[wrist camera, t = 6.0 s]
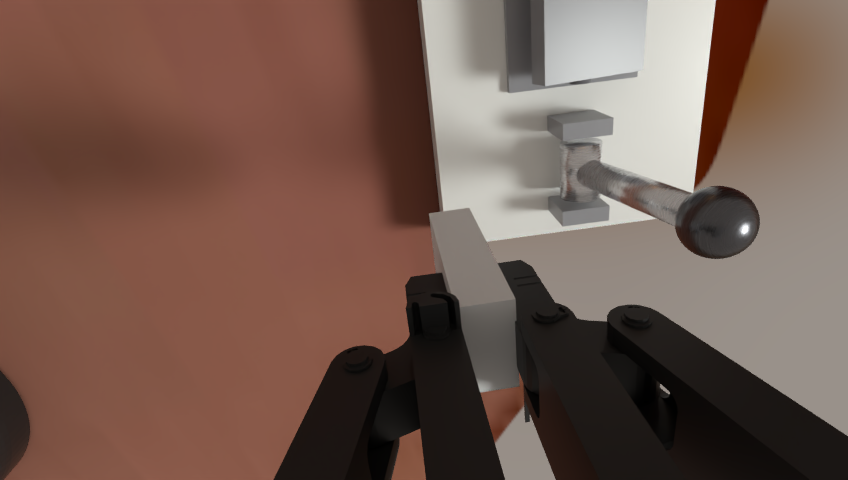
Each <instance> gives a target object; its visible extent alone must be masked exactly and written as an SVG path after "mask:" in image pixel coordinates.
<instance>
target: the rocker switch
mask: <svg viewBox="0 0 848 480" xmlns="http://www.w3.org/2000/svg"><path fill="white" fill-rule="evenodd" d="M647 6H648V0H530V7H531V52H532V84H535V85H541V86H550V85H556V84H562V83H568V82H569V84H571V85H579V84H588V83H591V79H593V78H599V77H605V76H611V75H617V74H623V73H629V72H635V71H642V70H643V66H644V51H645V36H646V21H647Z"/></svg>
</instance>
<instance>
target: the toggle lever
mask: <svg viewBox="0 0 848 480" xmlns="http://www.w3.org/2000/svg"><path fill="white" fill-rule="evenodd" d="M600 194H602V195H604V196H606V197H609V198H611V199H613V200H615V201H618V202H620V203H622V204H625V205H627V206H629V207H631V208H634V209H636V210H638V211H641V212H643V213H645V214H647V215H650V216H652V217H654V218H656V219H659V220H661V221H663V222H666V223H668V224H671V225H673V226H675V229H676V233H677V236H678V238H679V239H680V241H681V243H682V244H683V245H684V246H685V247H686V248H687V249H688V250H690V251H691V252H693V253H694V254H696V255H699V256H701V257H705V258H711V259H723V258H728V257H732V256H734V255H737V254H739V253H740V252H742V251H744V250H745V249H746V248H748V247H749V246H750V245H751V244H752V242H753V241H754V239H755V238H756V236H757V234H758V231H759V226H760V217H759V213H758V210H757V208H756V206H755V204H754V203H753V202H752V200H751V199H750V198H749V197H748V196H747V195H745V194H744V193H742V192H740V191H738V190H736V189H733V188H730V187H724V186H711V187H706V188H703V189H700V190H698V191H695V192H694V193H691V192H688V191H685V190H682V189H679V188H676V187H673V186H671V185H668V184H665V183H662V182H659V181H656V180H653V179H650V178H647V177H644V176H642V175H639V174H636V173H633V172H630V171H627V170H624V169H621V168H618V167H615V166H613V165H610V164H607V163H604V162H602V140H601V139H598V138H592V137H591V138H584V139H576V140H569V141H561V142H560V198H561V199H563V200H565V201H568V202H577V203H582V202H590V201H594V200H597V199H598V198H600Z"/></svg>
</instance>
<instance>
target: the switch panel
mask: <svg viewBox="0 0 848 480" xmlns="http://www.w3.org/2000/svg"><path fill="white" fill-rule="evenodd" d="M715 2H716V0H648V6H647V21H646V36H645V51H644V66H643V70H642V71H635V72H629V73H623V74H617V75H611V76H605V77H599V78H593V79H591V83H588V84H579V85H571V84H569V82H568V83H562V84H556V85H550V86H541V85H535V84H532V52H531V7H530V0H417V3H418V12H419V22H420V31H421V40H422V50H423V59H424V68H425V77H426V87H427V96H428V105H429V114H430V124H431V133H432V142H433V152H434V161H435V170H436V179H437V189H438V198H439V207H440V212H442V211H449V210H456V209H464V208H470V210H471V212H472V214H473V216H474V218H475V220H476V222H477V224H478V226H479V228H480V230H481V232H482V234H483V236H484V238H485V240H486V242H488V241H495V240H502V239H510V238H517V237H525V236H532V235H539V234H547V233H554V232H562V231H569V230H577V229H584V228H591V227H599V226H606V225H614V224H621V223H629V222H636V221H643V220H651V219H656V218H654V217H652V216H650V215H647V214H645V213H643V212H641V211H638V210H636V209H634V208H631V207H629V206H627V205H625V204H622V203H620V202H618V201H615V200H613V199H611V198H609V197H606V196H604V195H602V194H600V198H598V199H597V200H594V201H590V202H582V203H577V202H568V201H565V200H563V199H561V198H560V142H561V141H569V140H576V139H584V138H591V137H592V138H598V139H601V140H602V162H604V163H607V164H610V165H613V166H615V167H618V168H621V169H624V170H627V171H630V172H633V173H636V174H639V175H642V176H644V177H647V178H650V179H653V180H656V181H659V182H662V183H665V184H668V185H671V186H673V187H676V188H679V189H682V190H685V191H688V192H691V193H693V189H694V181H695V172H696V164H697V155H698V147H699V138H700V130H701V121H702V113H703V104H704V96H705V87H706V79H707V70H708V62H709V53H710V45H711V36H712V28H713V19H714V11H715Z"/></svg>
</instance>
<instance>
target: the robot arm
mask: <svg viewBox="0 0 848 480" xmlns="http://www.w3.org/2000/svg"><path fill="white" fill-rule="evenodd" d="M429 218H430V227H431V235H432V244H433V252H434V261H435V269H436V273H435V274H428V275H421V276H414V277H411V278H410V279H409V281H408V282H407V284H406V286H405V287H406V296H407V306H406V312H407V319H408V326H409V332H410V336H409V338H408V340H407V341H406V342H405V343H404V344H403V345H402V346H400V347H399V348H398V349H395V350H393V351H391V352H389V353H386V354H383V353H382V351H381V350H380V349H378V348H376V347H373V346H365V345H364V346H356V347H352V348H349V349H347V350H344V351H343V352H341V353H340V354H338V355H337V356H336V357H335V358H334V359H333V361H332V362H331V364H330V366H329V368H328V370H327V372H326V374H325V376H324V378H323V380H322V382H321V384H320V386H319V388H318V390H317V392H316V394H315V396H314V398H313V400H312V403H311V405H310V407H309V409H308V411H307V413H306V415H305V417H304V419H303V421H302V423H301V425H300V427H299V429H298V431H297V433H296V435H295V437H294V439H293V441H292V443H291V445H290V447H289V449H288V451H287V453H286V456H285V458H284V460H283V462H282V464H281V466H280V468H279V470H278V472H277V474H276V476H275V478H274V480H391V478H392V474H393V470H394V466H395V461H396V457H397V453H398V449H399V437H402V436H404V435H406V434H409V433H411V432H413V431H415V430H418V429H421V438H422V447H423V456H424V465H425V473H426V480H505V478H504V474H503V471H502V468H501V464H500V460H499V457H498V453H497V450H496V446H495V443H494V439H493V436H492V432H491V429H490V425H489V422H488V418H487V415H486V411H485V408H484V404H483V401H482V397H481V394H480V392H485V391H492V390H499V389H505V388H512V387H518V386H519V373H520V375H521V378H522V380H523V383H524V408H525V422H529V421H530V419H529V418H530V417H529V415H531V417H532V420H533V423H534V425H535V427H536V430H537V433H538V435H539V438H540V440H541V443H542V446H543V448H544V450H545V453H546V456H547V458H548V461H549V463H550V466H551V469H552V471H553V474H554V476H555V479H556V480H848V436H847V435H845V434H844V433H842V432H840V431H839V430H837V429H836V428H834V427H833V426H831V425H830V424H828V423H827V422H825V421H824V420H822V419H821V418H819V417H818V416H816V415H815V414H813V413H812V412H810V411H808V410H807V409H806V408H804V407H802V406H801V405H799V404H798V403H796V402H795V401H793V400H792V399H790V398H789V397H787V396H786V395H784V394H782V393H781V392H780V391H778V390H777V389H775V388H773V387H772V386H770V385H769V384H767V383H766V382H764V381H763V380H761V379H760V378H758V377H757V376H755V375H754V374H752V373H751V372H749V371H748V370H746V369H744V368H743V367H741V366H740V365H738V364H737V363H735V362H734V361H732V360H731V359H729V358H728V357H726V356H725V355H723V354H722V353H720V352H719V351H717V350H716V349H714V348H712V347H711V346H709V345H708V344H706V343H705V342H703V341H702V340H700V339H699V338H697V337H696V336H694V335H693V334H691V333H690V332H688V331H687V330H685V329H684V328H682V327H681V326H679V325H678V324H676V323H674V322H673V321H671V320H669V319H668V318H667V317H665V316H664V315H662V314H660V313H659V312H657V311H655V310H653V309H651V308H648V307H644V306H640V305H624V306H618V307H616V308H614V309H612V310H611V311H610V312H609V314H608V315H607V322H603V321H587V320H580V319H577V318H576V317H575V315H574V313H573V312H572V311H571V310H570V309H569V308H568V307H566V306H563V305H561V304H558V303H555V302H554V300H553V299H552V297H551V296H550V294H549V292H548V291H547V289H546V288H545V287H544V285H543V283H542V282H541V280H540V278H539V277H538V276H537V274H536V272H535V271H534V269H533V268H532V266H530V265H528V264H527V263H525V262H523V261H521V260H517V261H511V262H503V263H497V261H496V259H495V258H494V256H493V254H492V252H491V250H490V248H489V246H488V244H487V242H486V240H485V238H484V236H483V234H482V232H481V230H480V228H479V226H478V224H477V222H476V220H475V218H474V216H473V214H472V212H471V210H470V208H464V209H456V210H449V211H442V212H435V213H429ZM660 384H662V385H663V386H664V387H665V388H666V389H667V390H669V392H670V395H669V394H667V393H666V392H664V391H663V390H662V389H661V388H660ZM29 435H30V425H29V419H28V414H27V411H26V408H25V406H24V403H23V401H22V399H21V397H20V396H19V394H18V392H17V391H16V389H15V388H14V386H13V385H12V384H11V382H10V381H9V380H8V379H7V378H6V377H5V375H4V374H3V373H2V372H1V371H0V480H4V479H5V478H6V476H7V475H8V474H9V473H10V472H11V471H12V469H13V468H14V467H15V466H16V465H17V463H18V462H19V461H20V460H21V458H22V457H23V455H24V453H25V451H26V448H27V446H28V442H29Z"/></svg>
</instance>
